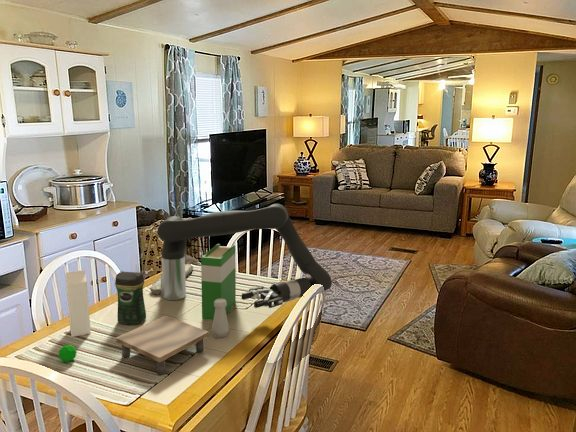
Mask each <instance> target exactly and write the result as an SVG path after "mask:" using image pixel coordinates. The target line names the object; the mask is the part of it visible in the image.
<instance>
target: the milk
mask: <svg viewBox="0 0 576 432" xmlns="http://www.w3.org/2000/svg"><path fill="white" fill-rule="evenodd" d="M87 280H88V279H87V275H86V270H85V269H81V270H76V271H75V270H74V271H67V272H65V285H66V297H67V308H68V309H67V311H68V318H69V320H68V321H69V330H70V331H69V332H70V334H71V338H74V337H78V336H79V337H80V336H83V335H90V334H91V333H92V332H91V320H90V306H89V305H90V304H89V294H88V293H89V291H88V281H87Z"/></svg>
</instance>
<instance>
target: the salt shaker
mask: <svg viewBox="0 0 576 432" xmlns="http://www.w3.org/2000/svg"><path fill="white" fill-rule="evenodd" d="M226 305H227V302H226V300H225V299H222V298H220V299H216V300H215V301H214V307H216V308H215V314H214V319H213V320H212V326H211V332H212V333H213V335H214V337H215V338H218V339H219V338H220V339H223V338H225V337H227V334H228V332H229V331H230V327H229V322H228V317H227V314H226V310H225V307H226Z"/></svg>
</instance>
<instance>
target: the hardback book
mask: <svg viewBox="0 0 576 432" xmlns="http://www.w3.org/2000/svg"><path fill="white" fill-rule="evenodd" d="M236 252H237V251H236V244H233V245H232V246H224V245H223V246H222V245H221V244H220V243H217V244H215V245H214V246H213V247H212V248H210V249H209V250H208V251H207V252H205V253H204V254H203V255H202V256H201V257H200V260H201V261H200V263H201V264H200V268H201V269H200V270H201V272H200V274H201V279H200V280H201V319H202V320H206V321H207V320H208V321H213V319H214V314H215V308H216V307H214V301H215V300H216V299H220V298H222V299H225V300H226V302H227V305H226V307H225V310H226V315H228V313H229V311H231V309H232V308H233V306H234V305H235V304H236V302H237V301H236V296H237V295H236V293H237V289H236V284H237V283H236V281H237V280H236V272H237V271H236V267H237V266H236V265H237V263H236V262H237V261H236V260H237V259H236V258H237V257H236V256H237V254H236Z"/></svg>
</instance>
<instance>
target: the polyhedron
mask: <svg viewBox="0 0 576 432" xmlns="http://www.w3.org/2000/svg"><path fill="white" fill-rule="evenodd" d="M76 356H77V349H76V347H75V346H74V345H71V344H66V345H63V346H62V347H60V348H59V351H58V358H59V359H60V361H61V362H64V363H68V362H72V361H73V360H74V359H75V358H76Z"/></svg>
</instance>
